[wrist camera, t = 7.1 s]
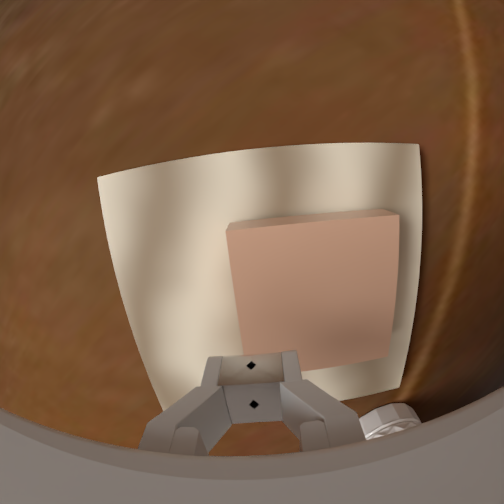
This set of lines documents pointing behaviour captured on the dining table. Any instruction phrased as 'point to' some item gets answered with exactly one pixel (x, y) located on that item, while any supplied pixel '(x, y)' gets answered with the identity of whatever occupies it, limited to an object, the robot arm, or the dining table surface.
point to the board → (217, 258)
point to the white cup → (388, 420)
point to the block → (316, 285)
